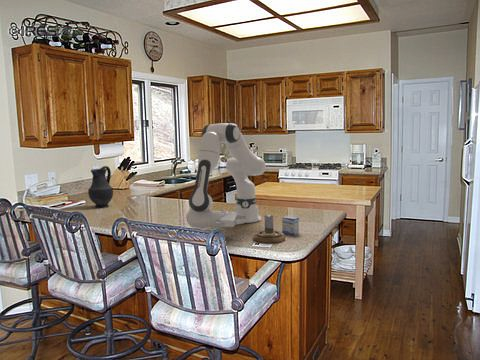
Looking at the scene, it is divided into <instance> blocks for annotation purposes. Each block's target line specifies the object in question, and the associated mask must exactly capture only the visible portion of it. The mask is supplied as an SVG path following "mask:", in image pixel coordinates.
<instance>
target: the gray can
mask: <svg viewBox="0 0 480 360" xmlns="http://www.w3.org/2000/svg"><path fill="white" fill-rule="evenodd" d="M264 230H265V232H263V235H265V236H274V235H276V233H275V232H274V231H275V230H274V215H273V214H265V215H264ZM273 230H274V231H273Z"/></svg>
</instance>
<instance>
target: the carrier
mask: <svg viewBox="0 0 480 360" xmlns="http://www.w3.org/2000/svg"><path fill="white" fill-rule="evenodd" d="M273 231H274V232H275V233H276V235H274V236H265V235H263V232H265V229H264V230H260V231H257V232H256V233H253V241H254V242H257V243H261V244H278V243H282V242H284V241H285V240H286V234H285V233H282V231H278V230H274V229H273Z"/></svg>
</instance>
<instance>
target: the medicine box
mask: <svg viewBox="0 0 480 360" xmlns="http://www.w3.org/2000/svg"><path fill="white" fill-rule="evenodd" d="M281 222H282V223H281V224H282V225H281V226H282V227H281V233H283V234H285V235H286V234H287V235H292V236H295V235H299V234H300V229H299V228H300V223H299V222H300V218H299V217H295V216H287V215H285V216H283V217H281Z"/></svg>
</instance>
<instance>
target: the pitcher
mask: <svg viewBox="0 0 480 360" xmlns="http://www.w3.org/2000/svg"><path fill="white" fill-rule="evenodd" d="M90 172H91V175H92V183H91V185H90V187H89V188H88V191H87V192H88V194H87V195H88V198H89V200H91V202H92V203H93V204H95V206H94V208H96V209H102V208H108V207H109V203H110V202H111V201H112V199H113V197H114V188H113V187H112V185H110V182H111V177H112V176H111V175H112V173H111V172H112V171H111V168H110V166H108V165H103V166H102V167H100V168H91V169H90ZM106 173H107V177H106Z"/></svg>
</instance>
